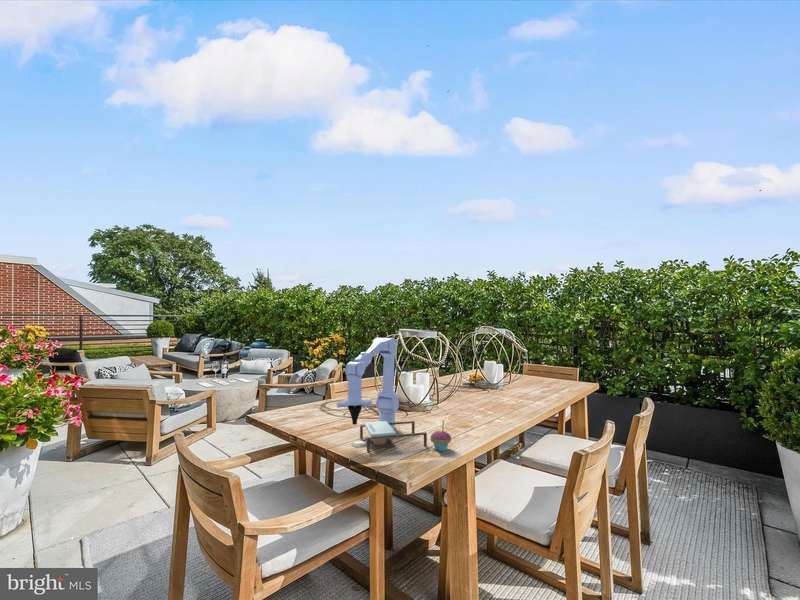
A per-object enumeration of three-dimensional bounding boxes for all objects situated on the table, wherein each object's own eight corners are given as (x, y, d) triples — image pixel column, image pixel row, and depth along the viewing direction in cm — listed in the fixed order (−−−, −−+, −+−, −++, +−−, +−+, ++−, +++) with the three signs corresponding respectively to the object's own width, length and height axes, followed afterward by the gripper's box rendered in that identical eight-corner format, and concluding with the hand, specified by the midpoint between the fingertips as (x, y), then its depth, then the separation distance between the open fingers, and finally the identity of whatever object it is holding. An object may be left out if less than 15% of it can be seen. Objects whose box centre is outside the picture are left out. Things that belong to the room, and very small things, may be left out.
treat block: (373, 441, 165) (373, 429, 166) (383, 440, 167) (383, 428, 167) (375, 444, 161) (375, 432, 161) (385, 443, 162) (385, 431, 162)
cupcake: (438, 444, 165) (438, 415, 166) (455, 448, 160) (455, 419, 160) (426, 449, 159) (426, 420, 159) (444, 454, 153) (444, 423, 154)
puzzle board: (347, 440, 169) (348, 426, 170) (413, 435, 177) (413, 421, 177) (353, 455, 152) (354, 439, 152) (426, 448, 160) (426, 433, 160)
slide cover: (364, 424, 171) (364, 422, 171) (386, 423, 173) (386, 420, 173) (371, 437, 154) (371, 434, 154) (395, 434, 157) (395, 432, 157)
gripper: (338, 393, 156) (337, 428, 156) (373, 391, 160) (373, 425, 159) (336, 390, 163) (336, 423, 162) (370, 388, 166) (370, 420, 166)
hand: (354, 423), depth 161 cm, fingers closed
